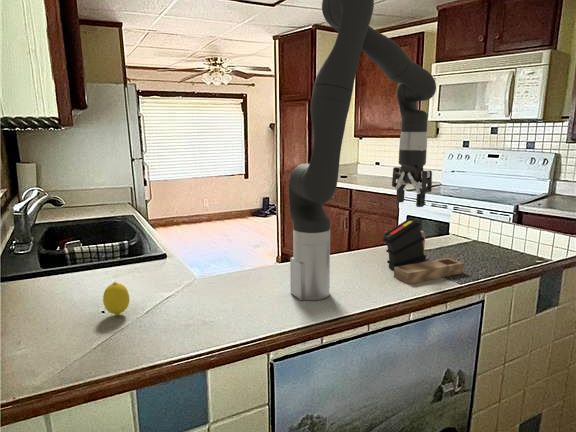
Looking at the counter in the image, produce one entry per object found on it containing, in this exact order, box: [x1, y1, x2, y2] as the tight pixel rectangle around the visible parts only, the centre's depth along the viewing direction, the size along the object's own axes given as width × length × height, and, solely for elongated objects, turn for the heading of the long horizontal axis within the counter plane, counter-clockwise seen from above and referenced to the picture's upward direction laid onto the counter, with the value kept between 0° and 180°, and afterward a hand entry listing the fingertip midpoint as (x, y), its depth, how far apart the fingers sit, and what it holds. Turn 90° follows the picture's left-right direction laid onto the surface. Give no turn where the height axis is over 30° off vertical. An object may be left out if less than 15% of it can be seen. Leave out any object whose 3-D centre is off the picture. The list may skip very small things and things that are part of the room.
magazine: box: [382, 217, 427, 271], centre depth 128 cm, size 4×13×15 cm, turn 111°
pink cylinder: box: [420, 230, 426, 249], centre depth 137 cm, size 3×3×9 cm
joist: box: [393, 257, 465, 285], centre depth 122 cm, size 20×6×3 cm, turn 115°
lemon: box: [102, 281, 130, 316], centre depth 96 cm, size 6×6×8 cm
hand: (409, 204), depth 123 cm, fingers open, 8 cm apart
